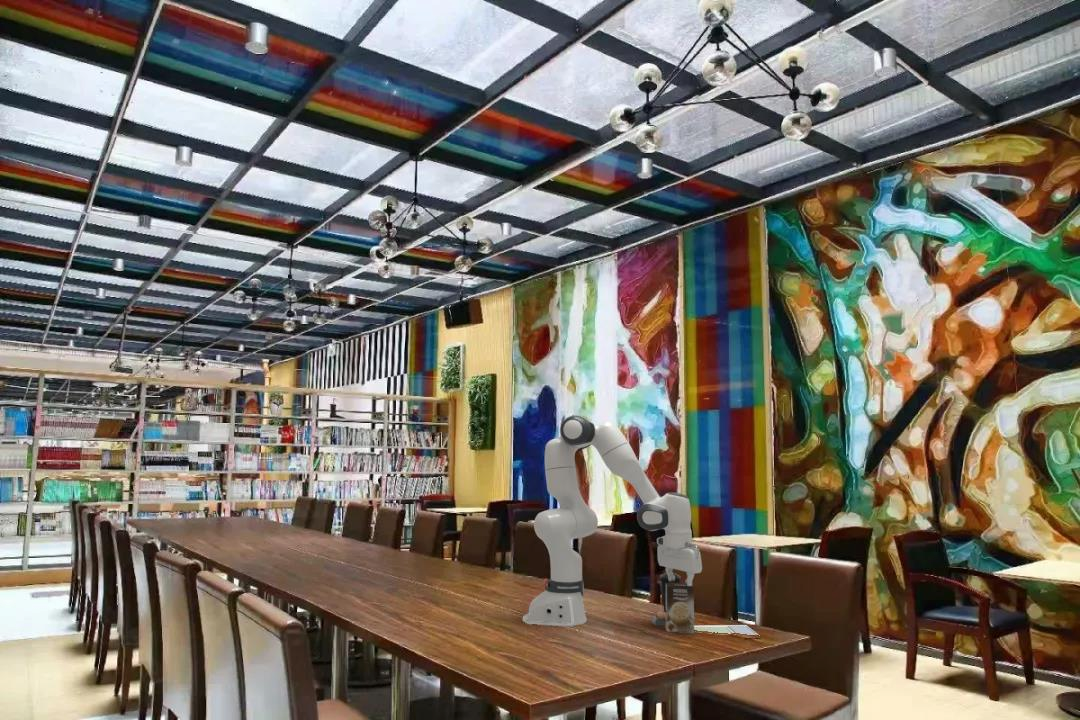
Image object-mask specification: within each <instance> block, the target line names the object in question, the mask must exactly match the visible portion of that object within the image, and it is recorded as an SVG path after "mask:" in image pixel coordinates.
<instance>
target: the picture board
mask: <svg viewBox="0 0 1080 720" xmlns="http://www.w3.org/2000/svg"><path fill="white" fill-rule="evenodd" d="M694 630H697V631H708V632H712V633H713V632H715V633H717V632H718V633H728V634H731V633H740V634H747V635H759V634H758V633H757V632H756V631H755V630H753V629H752V628H750V627H749V626H748V624H727V625H726V624H725V625H724V624H718V625H716V624H715V625H713V624H712V625H707V624H705V625H699V624H698V625H695V624H694ZM712 633H711V634H712ZM728 634H727V635H728Z"/></svg>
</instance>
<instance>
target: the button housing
mask: <svg viewBox="0 0 1080 720" xmlns="http://www.w3.org/2000/svg"><path fill="white" fill-rule="evenodd" d="M651 624H653V625H654V626H659V627H660V626H661V627H663V626H664V627H666V619H657V615H652V621H651Z"/></svg>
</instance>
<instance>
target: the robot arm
mask: <svg viewBox="0 0 1080 720" xmlns="http://www.w3.org/2000/svg"><path fill="white" fill-rule="evenodd" d="M559 428H560V429H559V433H560V437H557V438H553V439H550V440H549V441H548V442H547V443H546V444H545V449H544V470H545V471H544V472H545V480H546V481H545V482H546V488H547V489H546V490H547V493H548V494H549V495H550V496H551V497H553V498H555V500H556V501H557V502H558V505H559V507H560V508H550V509H547V510H544V511H541V512H538V513H537V515H536V516H535V518H534V522H533V529H534V532H535V535H536V536H537V538H539V539H540V540H541V541H542V542H543V543H544V544H545V547H546V548H547V551H548V554H549V561H550V564H549V565H550V578H549V579H548V578H544V579H543V585H544V591H543V592H541V593H539V594H538V595H537V596H536V597H534V599H532V601H531V602H530V604H529V607H528V613H526V614H524V615H523V616H522V622H523V623H524V622H525V624H526V623H527V624H526V625H532V624H537V625H536V626H551V625H552V627H553V626H556V627H573V626H578V625H583V624H585V623H587V622H588V620H587V616H586V612H585V606H584V598H583V597H584V593H585V591H584V590H585V589H584V586H585V585H584V584H585V583H584V579H583V558H582V556H581V554H579V552H577V551H575V550H574V549H573V546H572V543H571V542H572V541H571V540H574V539H582V538H586V537H589V536H592V535H593V534H594V533H595V532H596V531H597V529H598V522H599V521H598V516H597V514H596V512H595V511H594V510H593V509H592V508H591V507H589V506H588V504H587V503H586V502H585V500H584V498H583V496H582V494H581V492H580V488H579V487H580V486H579V483H578V475H577V467H576V460H575V458H576V457H575V454H576V453H578V452H580V451H582V450H585V449H587V448H589V447H590V446H593V447H594V448H595V450H597V452H598V453H599V455H600V457H601V460H602V461H603V463H604V464H605V466H606V467H607V469H608V470H609V472H611V473H612V474H613V475H615V476H617V477H619V478H622V479H624V480H625V481H627V483H629V484H630V485H631V486H632V487H633V489H634V490H635V491H636V493H637V495H638V496H639V497H638V498H639V499H640V500H641V502H642V503H643V504H642V505H641V506H640V507H639V509H638V510H637V513H636V519H637V522H638V525H639V526H640V527H641V528H642V529H644V530H645V531H649V532H654V531H658V530H664V532H665V535H663V536H661V537H660V536H659V537H657V538H656V543H657V545H658V546H657V548H656V549H657V562H658V565H659V566H660V567H664V568H665V573H667V574H668V580H669V581H675V576H674V575H673V573H674V572H673V570H677V571H682V572H685V573H686V576H687V577H686V579H684V583H685V585H687V586H692V584H693V580H694V577H695V574H700V573H702V571H703V564H702V555H701V552H700V549H699V547H698V546H697V544H695V543H693V535H692V534H693V533H692V529H691V523H692V512H691V511H692V509H691V504H690V503H691V502H690V499H689V497H688V496H687V495H685V494H683V493H679V492H671V491H669V492H667V493H665V494H664V495H663V496H661V495H660V494H659V492H658V491H657V489H656V488H655V486H654V484H653V483H652V481H651V479H650V478H649V477H648V475H647V474H646V472H645V471H644V469H643V467H642V466H641V463H640V462H639V459H638V457H637V456H636V454H635V452H634V450H633V448H632V446H631V445H630V442H628V440H627V438H626V437H625V435H624V434H623V432H622V431H621V429H620V428H619V427H618V426H617V424H615V423H614V422H612V421H608V420H607V421H602V422H600V423H598V424H594V423H593V422H591V421H590V420H589V419H587V418H586V417H582V416H580V415H570V416H568V417H566V418H565V419H564V420H563V421H562V423H561V425H560V427H559Z"/></svg>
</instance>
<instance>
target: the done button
mask: <svg viewBox="0 0 1080 720" xmlns="http://www.w3.org/2000/svg"><path fill="white" fill-rule="evenodd" d="M656 614H657V615H656V616H657V619H666V612H664V611H658V612H656Z"/></svg>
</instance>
